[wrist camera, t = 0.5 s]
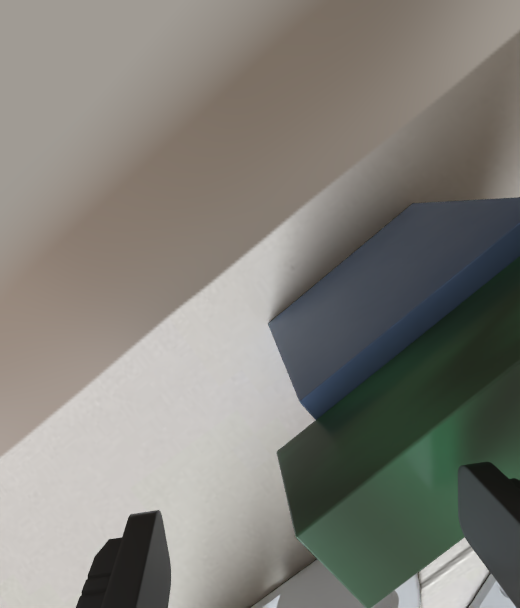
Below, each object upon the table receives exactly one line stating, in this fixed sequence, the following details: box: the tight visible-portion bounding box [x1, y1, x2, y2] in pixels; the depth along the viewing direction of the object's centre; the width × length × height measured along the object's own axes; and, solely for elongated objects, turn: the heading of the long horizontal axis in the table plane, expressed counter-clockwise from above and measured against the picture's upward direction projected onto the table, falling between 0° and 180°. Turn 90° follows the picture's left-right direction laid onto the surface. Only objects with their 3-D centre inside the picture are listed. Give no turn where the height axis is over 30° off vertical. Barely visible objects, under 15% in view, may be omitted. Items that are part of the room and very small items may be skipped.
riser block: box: [268, 197, 520, 420], centre depth 23 cm, size 12×6×12 cm, turn 130°
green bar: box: [277, 256, 520, 608], centre depth 14 cm, size 16×4×5 cm, turn 130°
